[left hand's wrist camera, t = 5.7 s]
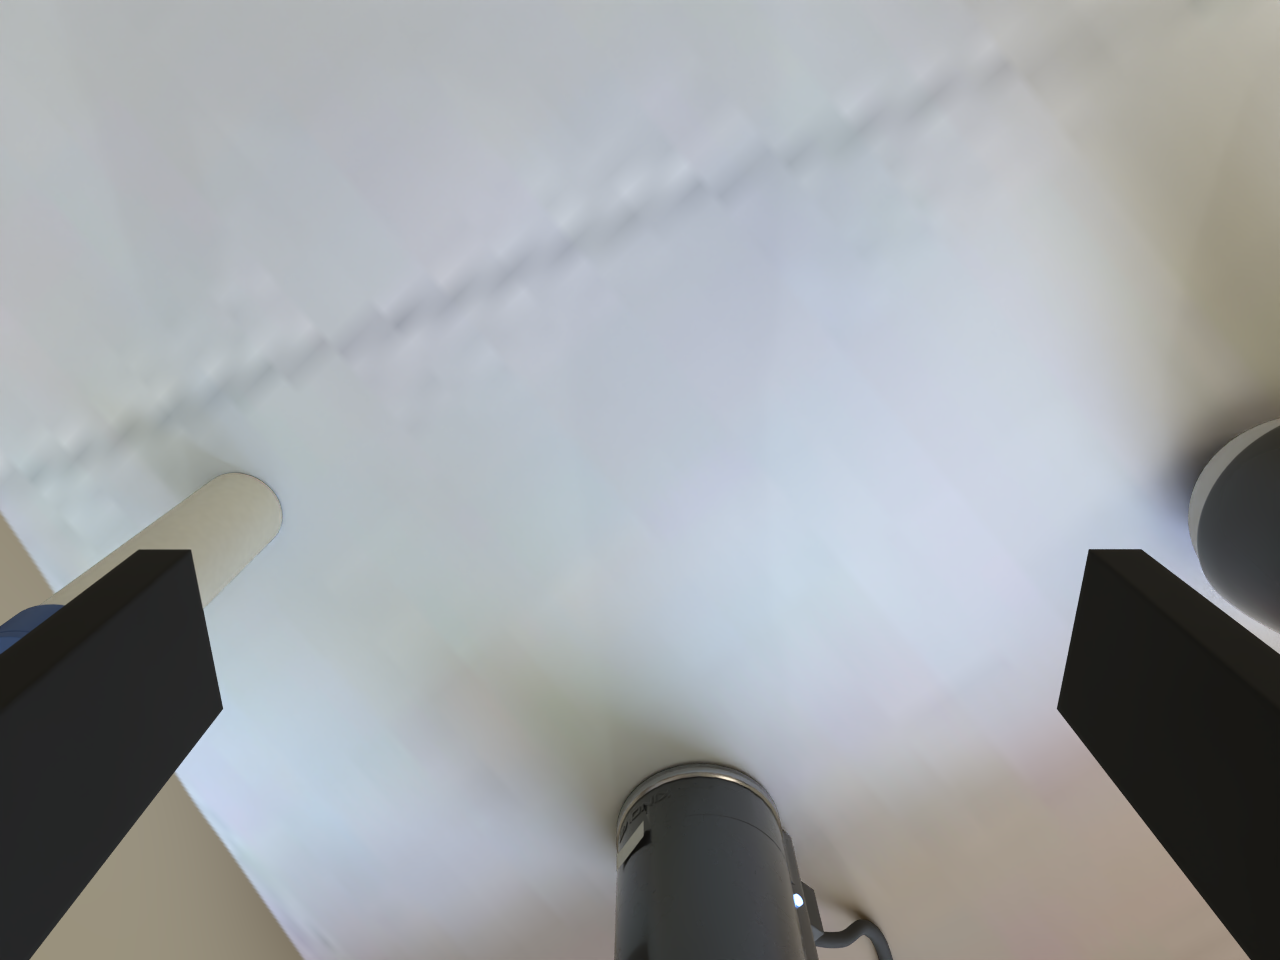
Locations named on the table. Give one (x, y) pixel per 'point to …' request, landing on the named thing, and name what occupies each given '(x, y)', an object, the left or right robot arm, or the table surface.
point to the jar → (202, 534)
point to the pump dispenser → (1242, 523)
